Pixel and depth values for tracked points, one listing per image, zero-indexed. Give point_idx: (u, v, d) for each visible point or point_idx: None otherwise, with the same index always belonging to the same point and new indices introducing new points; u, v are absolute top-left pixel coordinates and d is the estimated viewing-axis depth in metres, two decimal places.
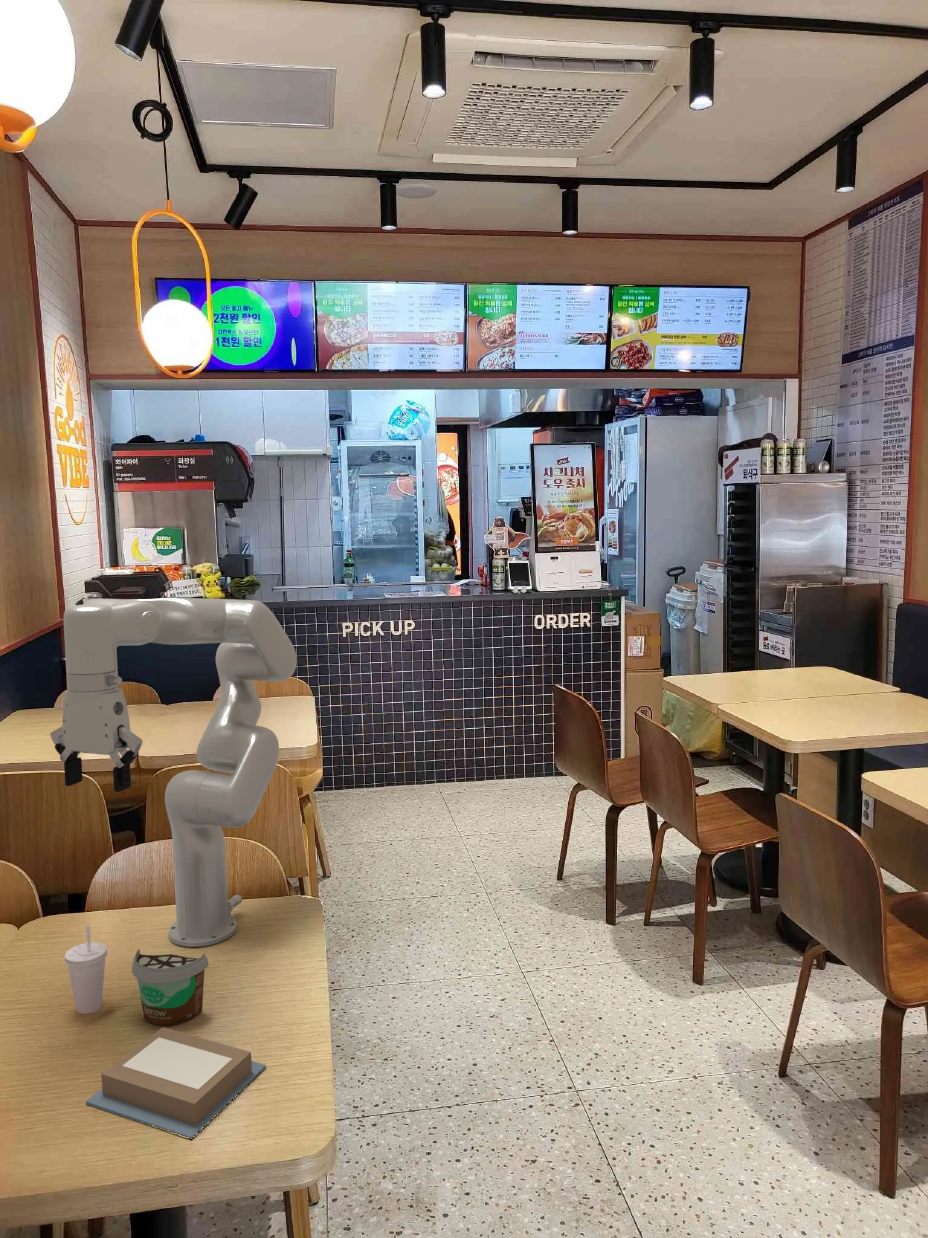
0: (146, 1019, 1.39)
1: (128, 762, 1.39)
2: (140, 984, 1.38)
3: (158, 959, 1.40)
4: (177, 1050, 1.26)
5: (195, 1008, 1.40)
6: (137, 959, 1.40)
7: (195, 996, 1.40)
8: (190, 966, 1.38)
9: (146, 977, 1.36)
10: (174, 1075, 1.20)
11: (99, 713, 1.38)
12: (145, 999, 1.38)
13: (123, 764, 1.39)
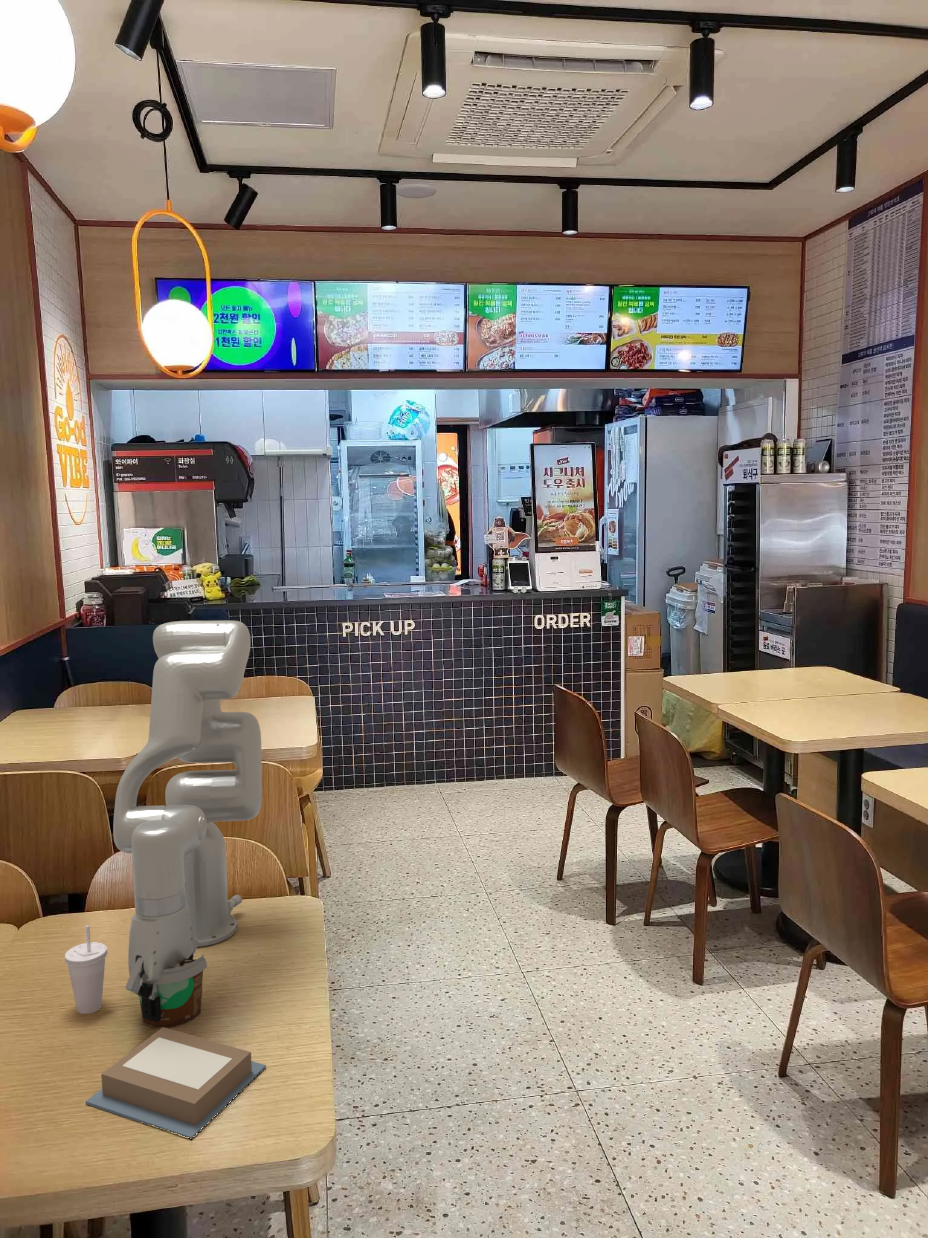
0: (144, 1020, 1.39)
1: None
2: None
3: None
4: (177, 1050, 1.26)
5: (194, 1009, 1.40)
6: None
7: (193, 997, 1.39)
8: (188, 967, 1.37)
9: (144, 978, 1.36)
10: (174, 1075, 1.20)
11: (186, 921, 1.40)
12: None
13: None
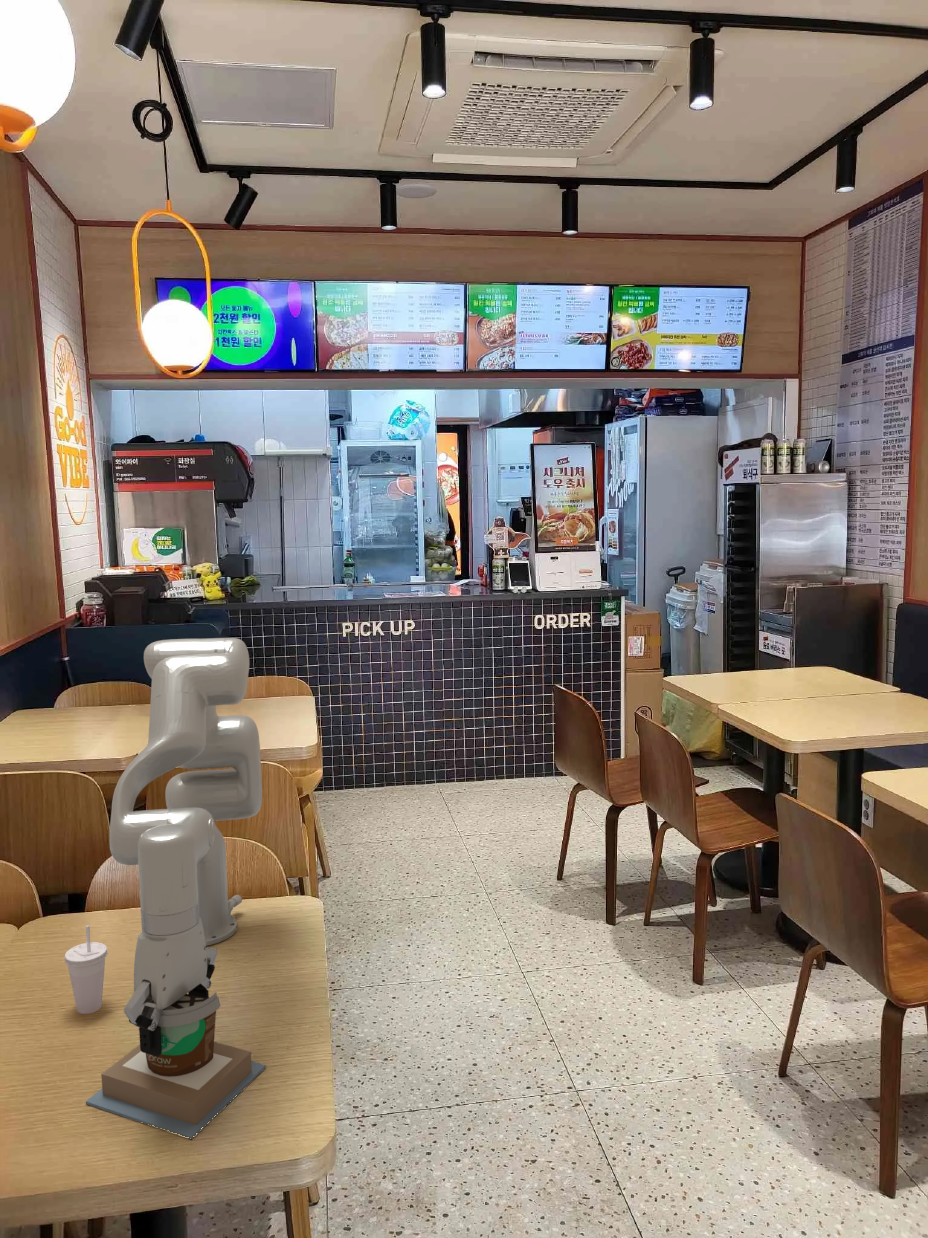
0: (149, 1066, 1.21)
1: None
2: None
3: None
4: None
5: (205, 1054, 1.22)
6: None
7: (205, 1041, 1.22)
8: (199, 1007, 1.20)
9: None
10: None
11: (200, 940, 1.23)
12: None
13: (209, 983, 1.27)
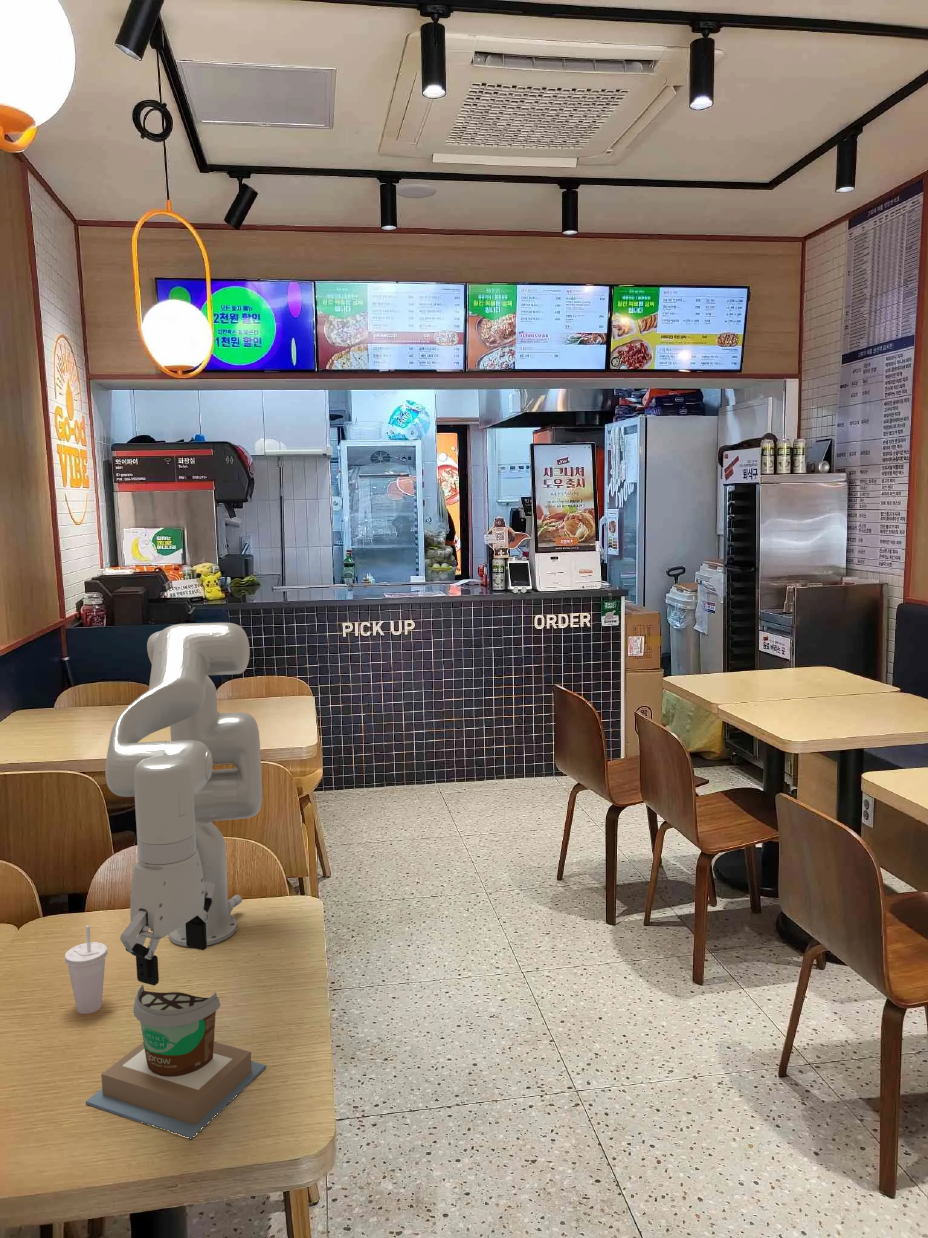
0: (149, 1066, 1.21)
1: None
2: (142, 1026, 1.21)
3: (163, 998, 1.23)
4: None
5: (205, 1055, 1.22)
6: (140, 997, 1.23)
7: (204, 1041, 1.22)
8: (199, 1007, 1.20)
9: (148, 1019, 1.18)
10: None
11: (197, 871, 1.22)
12: (148, 1044, 1.20)
13: None
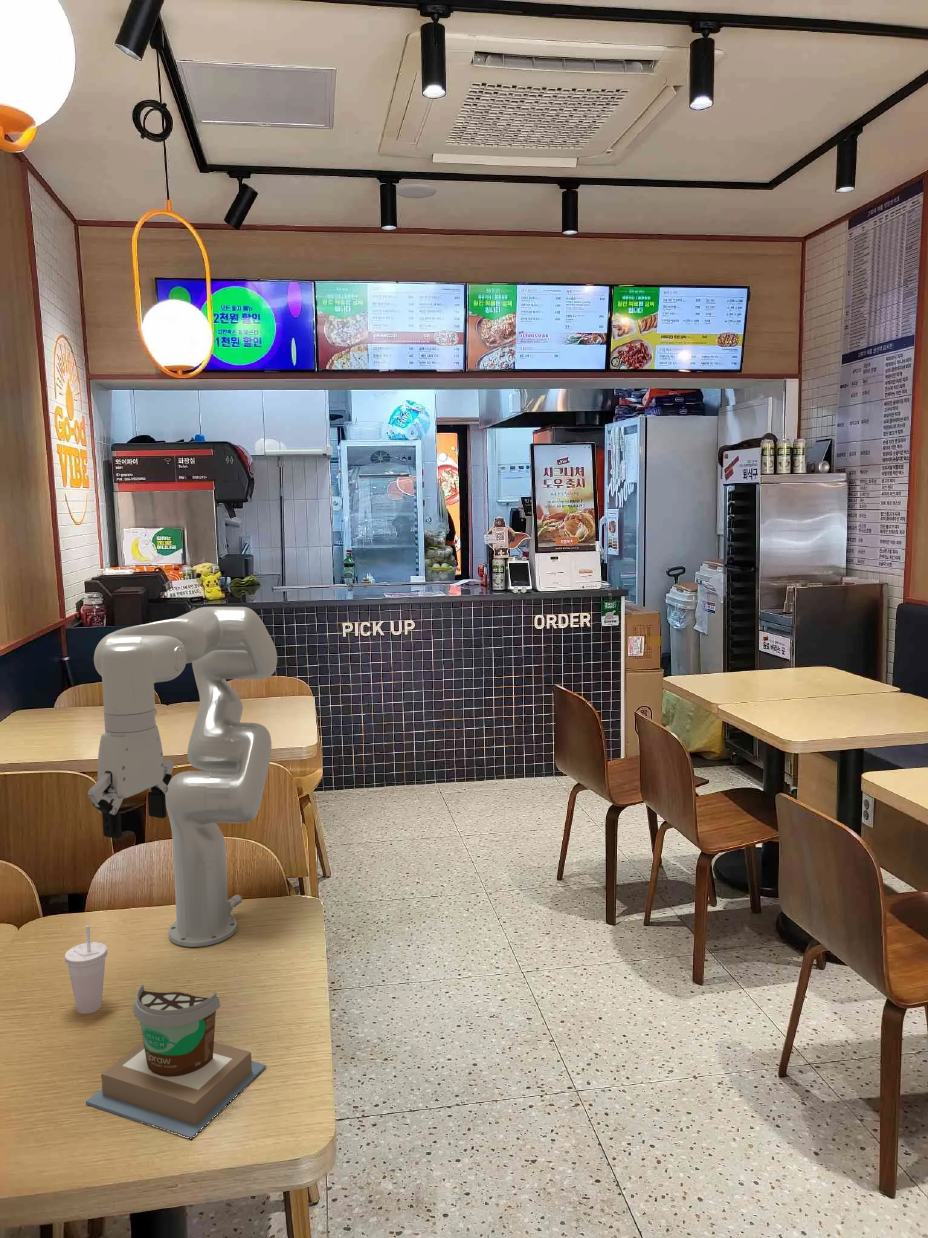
0: (149, 1066, 1.21)
1: None
2: (142, 1026, 1.21)
3: (163, 997, 1.23)
4: None
5: (205, 1055, 1.22)
6: (140, 997, 1.23)
7: (204, 1041, 1.22)
8: (199, 1007, 1.20)
9: (148, 1019, 1.18)
10: None
11: (157, 745, 1.41)
12: (148, 1044, 1.20)
13: (166, 788, 1.45)
